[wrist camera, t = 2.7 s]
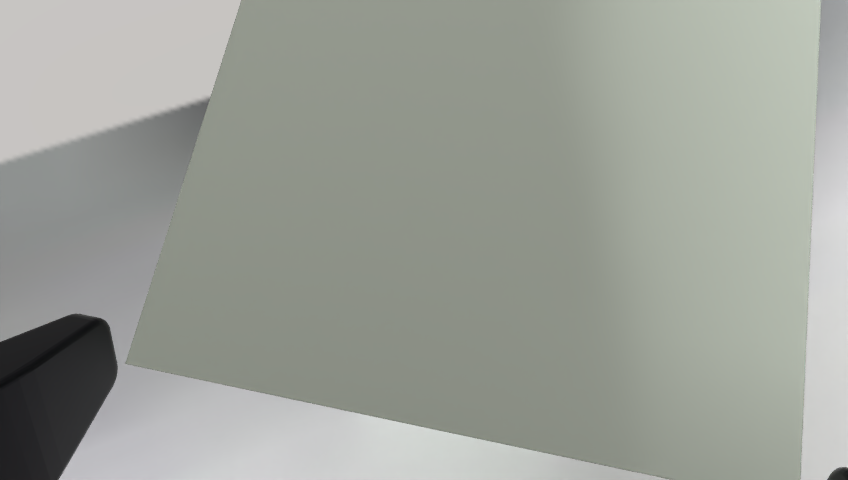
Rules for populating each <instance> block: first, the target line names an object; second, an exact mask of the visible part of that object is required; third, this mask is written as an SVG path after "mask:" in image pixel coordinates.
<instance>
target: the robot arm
mask: <svg viewBox="0 0 848 480" xmlns="http://www.w3.org/2000/svg"><path fill="white" fill-rule="evenodd" d="M117 369H118V366H117V360H116V355H115V350H114V345H113V341H112V336H111V331H110V327H109V325H108V323H107V322H106V321H105V320H103V319H101V318H97V317H92V316H87V315H82V314H71V315H68V316H66V317H63V318H60V319H58V320H55V321H53V322H50V323H48V324H45V325H43V326H40V327H38V328H35V329H32V330H30V331H27V332H25V333H22V334H20V335H17V336H15V337H12V338H9V339H7V340H4V341H2V342H0V480H59V478H60V476H61V475H62V473H63V471H64V470H65V468H66V466H67V465H68V463H69V461H70V459H71V458H72V456H73V454H74V453H75V451H76V449H77V447H78V446H79V444H80V442H81V440H82V439H83V437H84V435H85V434H86V432H87V430H88V428H89V427H90V425H91V423H92V421H93V420H94V418H95V416H96V415H97V413H98V411H99V409H100V408H101V406H102V404H103V402H104V401H105V399H106V397H107V396H108V394H109V392H110V390H111V389H112V387H113V385H114V383H115V380H116V377H117ZM827 480H848V468H847V467H840V468H837V469H836V470H834V471H833V472H832V473H831V474H830V476H829V478H828V479H827Z"/></svg>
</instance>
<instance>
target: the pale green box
mask: <svg viewBox="0 0 848 480" xmlns="http://www.w3.org/2000/svg"><path fill="white" fill-rule="evenodd" d="M820 11H821V0H241V3H240V7H239V10H238V13H237V16H236V19H235V22H234V26H233V28H232V32H231V35H230V38H229V41H228V44H227V47H226V50H225V54H224V57H223V60H222V63H221V66H220V70H219V73H218V76H217V79H216V82H215V85H214V88H213V91H212V94H211V97H210V100H209V104H208V107H207V110H206V113H205V116H204V119H203V122H202V125H201V129H200V132H199V135H198V138H197V141H196V144H195V147H194V150H193V154H192V157H191V160H190V163H189V166H188V169H187V172H186V176H185V179H184V182H183V185H182V188H181V191H180V194H179V197H178V201H177V204H176V207H175V210H174V213H173V216H172V219H171V222H170V226H169V229H168V232H167V235H166V238H165V241H164V244H163V247H162V251H161V254H160V257H159V260H158V263H157V266H156V269H155V272H154V276H153V279H152V282H151V285H150V288H149V291H148V294H147V297H146V301H145V304H144V307H143V310H142V313H141V316H140V319H139V323H138V326H137V329H136V332H135V335H134V338H133V341H132V344H131V348H130V351H129V354H128V357H127V360H126V363H125V364H128V365H133V366H138V367H142V368H147V369H152V370H157V371H161V372H166V373H171V374H176V375H180V376H185V377H190V378H194V379H199V380H204V381H209V382H213V383H218V384H223V385H227V386H232V387H237V388H242V389H246V390H251V391H256V392H260V393H265V394H270V395H275V396H279V397H284V398H289V399H293V400H298V401H303V402H308V403H312V404H317V405H322V406H326V407H331V408H336V409H341V410H345V411H350V412H355V413H360V414H364V415H369V416H374V417H378V418H383V419H388V420H393V421H397V422H402V423H407V424H411V425H416V426H421V427H426V428H430V429H435V430H440V431H444V432H449V433H454V434H459V435H463V436H468V437H473V438H477V439H482V440H487V441H492V442H496V443H501V444H506V445H510V446H515V447H520V448H525V449H529V450H534V451H539V452H543V453H548V454H553V455H558V456H562V457H567V458H572V459H577V460H581V461H586V462H591V463H595V464H600V465H605V466H610V467H614V468H619V469H624V470H628V471H633V472H638V473H643V474H647V475H652V476H657V477H661V478H666V479H671V480H800V475H801V452H802V429H803V406H804V382H805V359H806V336H807V313H808V290H809V266H810V243H811V220H812V197H813V173H814V150H815V127H816V104H817V80H818V57H819V34H820Z"/></svg>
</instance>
